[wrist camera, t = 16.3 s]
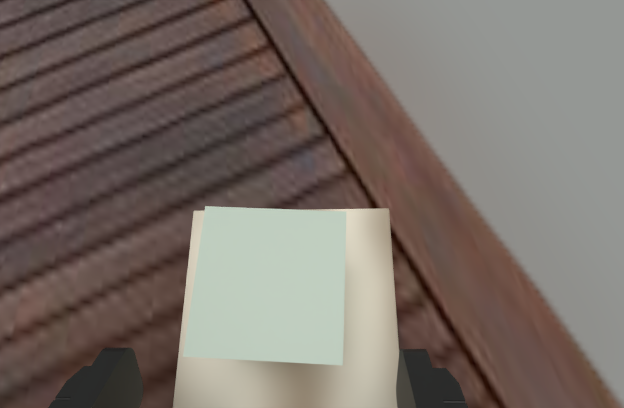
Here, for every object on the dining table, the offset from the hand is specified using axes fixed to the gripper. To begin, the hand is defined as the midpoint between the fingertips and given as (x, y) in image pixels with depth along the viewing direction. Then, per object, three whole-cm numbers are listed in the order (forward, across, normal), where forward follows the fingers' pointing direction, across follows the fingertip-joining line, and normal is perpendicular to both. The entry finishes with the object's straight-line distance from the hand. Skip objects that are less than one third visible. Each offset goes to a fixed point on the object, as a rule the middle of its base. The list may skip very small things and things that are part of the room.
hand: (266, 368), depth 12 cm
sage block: (+8, 0, +4) cm, 9 cm away
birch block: (+12, 0, +8) cm, 15 cm away
